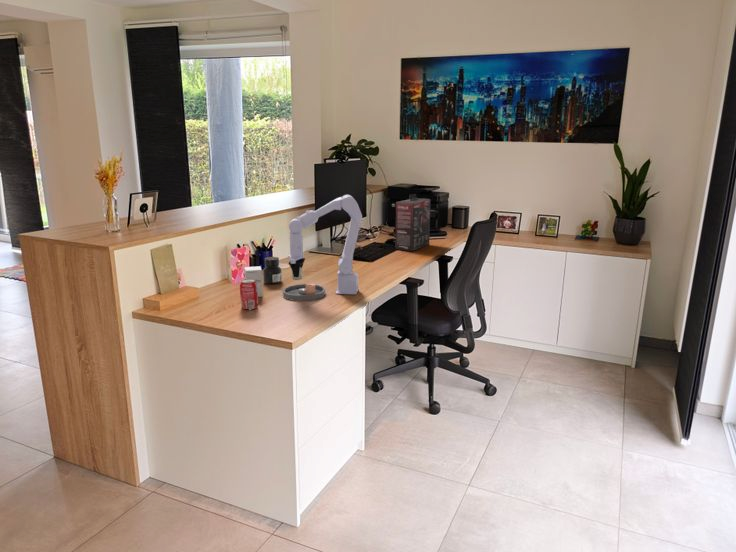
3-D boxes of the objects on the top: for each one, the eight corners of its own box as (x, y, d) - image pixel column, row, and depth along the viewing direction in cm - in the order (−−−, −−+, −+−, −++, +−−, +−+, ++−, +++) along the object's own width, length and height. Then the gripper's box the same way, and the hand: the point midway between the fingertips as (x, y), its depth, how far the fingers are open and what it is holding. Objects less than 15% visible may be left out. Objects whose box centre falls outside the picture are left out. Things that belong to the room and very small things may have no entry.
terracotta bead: (316, 294, 248) (316, 283, 247) (314, 297, 244) (313, 286, 242) (306, 294, 248) (306, 283, 247) (304, 297, 244) (304, 286, 243)
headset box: (413, 242, 362) (414, 192, 353) (430, 244, 356) (431, 193, 347) (394, 249, 342) (395, 196, 333) (412, 252, 335) (413, 197, 327)
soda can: (251, 304, 236) (249, 277, 233) (261, 307, 232) (260, 280, 229) (237, 308, 231) (235, 280, 228) (248, 311, 227) (246, 283, 224)
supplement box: (246, 298, 245) (244, 270, 242) (245, 293, 252) (243, 266, 249) (263, 296, 247) (261, 269, 244) (261, 292, 254) (260, 265, 250)
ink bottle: (277, 285, 265) (276, 261, 262) (260, 284, 266) (259, 260, 263) (284, 280, 274) (283, 256, 271) (268, 279, 276) (266, 255, 273)
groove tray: (328, 289, 258) (328, 284, 258) (320, 301, 240) (320, 296, 240) (289, 287, 261) (289, 283, 260) (278, 299, 243) (277, 295, 242)
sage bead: (303, 277, 252) (302, 266, 251) (301, 280, 248) (300, 269, 246) (293, 277, 253) (293, 266, 251) (291, 279, 248) (291, 268, 247)
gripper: (291, 242, 254) (292, 271, 257) (283, 249, 240) (284, 279, 243) (306, 243, 253) (307, 271, 256) (299, 249, 239) (300, 280, 243)
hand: (297, 275), depth 250 cm, fingers closed on sage bead, 4 cm apart
